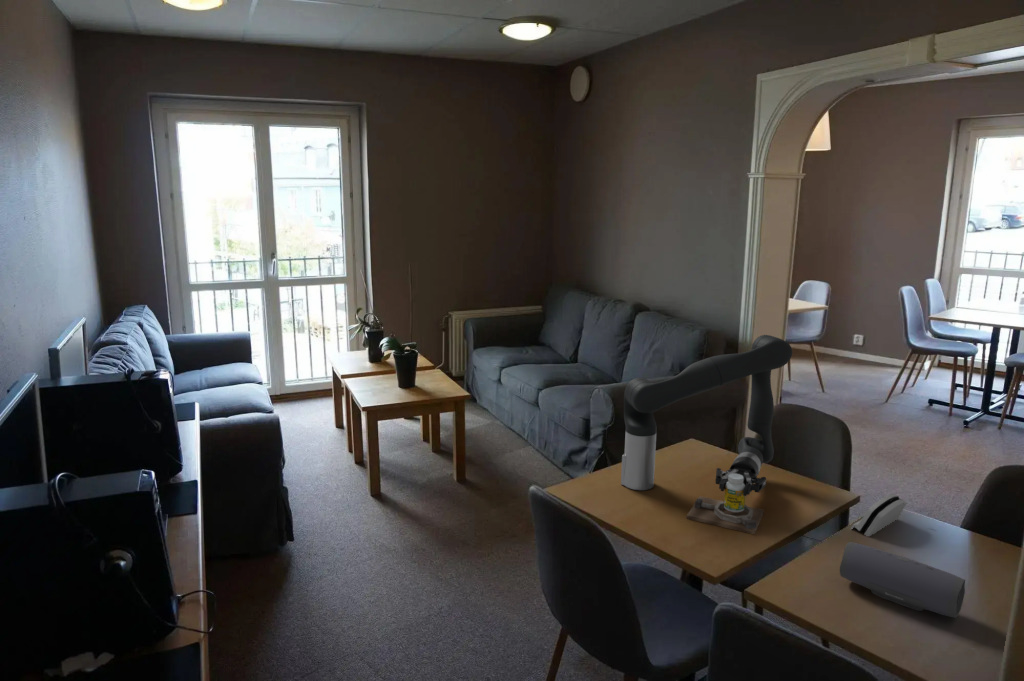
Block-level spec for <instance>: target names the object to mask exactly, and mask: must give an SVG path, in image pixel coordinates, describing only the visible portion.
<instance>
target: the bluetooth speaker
mask: <svg viewBox="0 0 1024 681" xmlns="http://www.w3.org/2000/svg"><path fill="white" fill-rule="evenodd" d="M839 574H840V577H842V578H844V579H846V580H848V581H850V582H852V583H854V584H858V585H860V586H862V587H864V588H867V589H868V590H871V593H872V594H873V595H875V596H878V597H879V598H882V599H885V600H887V601H890V602H893V603H894V604H897V603H898V605H900V606H903V607H906V608H909V609H912V610H915V611H919V612H922V611H924V610H926V611H930V612H933V613H936V614H939V615H942V616H946V617H950V618H954V619H957V617H958V615H959V613H960V612H961V609H962V606H963V603H964V598H965V593H966V585H965V584H966V579H964V578H962V577H960V576H957V575H955V574H953V573H950V572H947V571H945V570H942V569H939V568H936V567H934V566H931V565H928V564H926V563H923V562H919V561H917V560H914V559H911V558H908V557H906V556H903V555H898V554H896V553H893V552H889V551H886V550H883V549H879V548H877V547H876V548H875V547H872V546H869V545H866V544H862V543H858V542H852V541H849V542H847V543H846V546H845V548H844V552H843V554H842V558H841V562H840V565H839Z"/></svg>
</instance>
